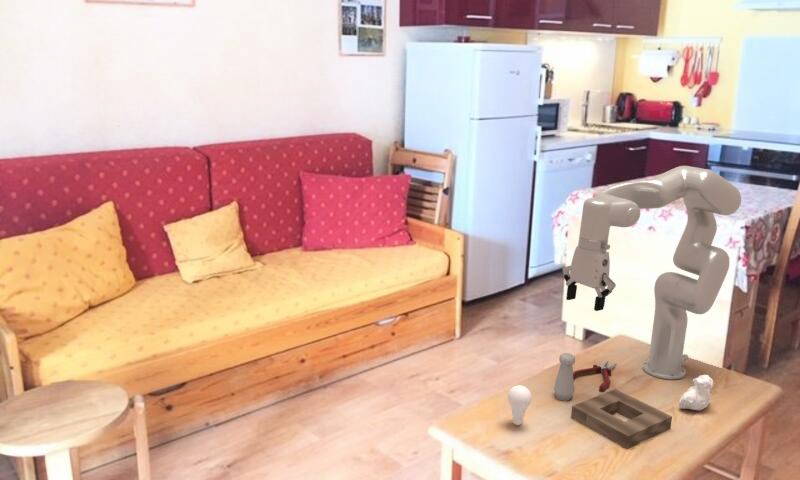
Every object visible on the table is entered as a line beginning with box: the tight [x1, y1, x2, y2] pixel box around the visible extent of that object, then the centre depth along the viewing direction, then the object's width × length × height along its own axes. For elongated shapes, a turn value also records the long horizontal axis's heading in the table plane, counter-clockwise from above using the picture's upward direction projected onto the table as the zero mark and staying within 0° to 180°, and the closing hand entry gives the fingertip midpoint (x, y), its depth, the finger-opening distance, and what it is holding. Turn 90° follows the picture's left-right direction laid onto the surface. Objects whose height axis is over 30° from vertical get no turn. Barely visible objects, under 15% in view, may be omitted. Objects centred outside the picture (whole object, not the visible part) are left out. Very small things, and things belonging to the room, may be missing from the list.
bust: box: [678, 374, 714, 412], centre depth 188 cm, size 12×8×11 cm
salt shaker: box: [553, 352, 576, 401], centre depth 192 cm, size 6×6×13 cm
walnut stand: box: [570, 388, 673, 450], centre depth 180 cm, size 18×18×4 cm
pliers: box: [573, 360, 618, 393], centre depth 208 cm, size 12×20×3 cm, turn 141°
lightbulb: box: [507, 384, 533, 426], centre depth 177 cm, size 6×6×11 cm
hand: (584, 304), depth 188 cm, fingers open, 9 cm apart
